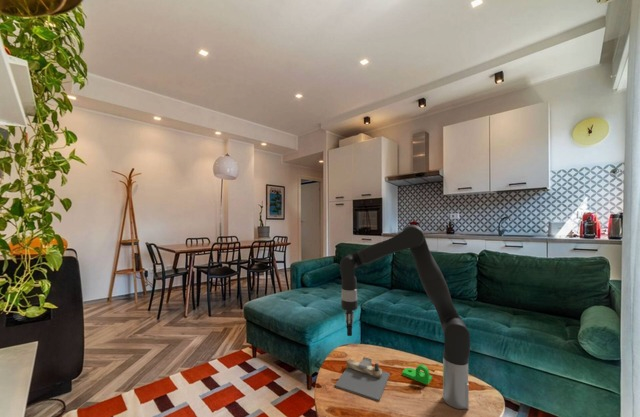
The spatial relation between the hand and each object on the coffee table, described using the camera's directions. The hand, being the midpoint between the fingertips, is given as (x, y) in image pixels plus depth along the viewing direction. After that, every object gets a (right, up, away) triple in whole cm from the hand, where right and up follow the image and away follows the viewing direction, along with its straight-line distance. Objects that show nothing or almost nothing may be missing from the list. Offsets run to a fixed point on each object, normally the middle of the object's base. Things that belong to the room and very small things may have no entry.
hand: (349, 335), depth 125 cm
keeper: (+8, -19, +4) cm, 22 cm away
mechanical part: (+32, -21, +1) cm, 38 cm away
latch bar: (+7, -19, +4) cm, 21 cm away
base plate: (+6, -21, -2) cm, 21 cm away
